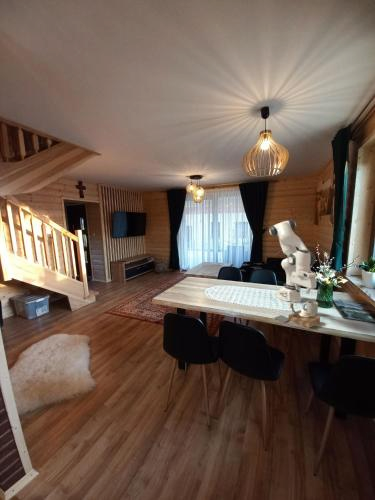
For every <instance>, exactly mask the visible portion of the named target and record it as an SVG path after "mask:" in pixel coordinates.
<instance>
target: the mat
mask: <svg viewBox="0 0 375 500" xmlns="http://www.w3.org/2000/svg"><path fill="white" fill-rule="evenodd" d="M273 318H274V319H275V320H277V321H280V322H282V323H284V324H285V323H287V322H289V321H290V320H289V319H288V318H289V317H287V316H285V315H278V316H275V317H273ZM290 322H291V321H290Z"/></svg>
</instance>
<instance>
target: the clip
mask: <svg viewBox="0 0 375 500" xmlns="http://www.w3.org/2000/svg"><path fill="white" fill-rule="evenodd" d="M289 307H290V309H291V311H292V313H293V315H297V313H296V312H297V311H296V310H295V307H294V302H290V306H289Z"/></svg>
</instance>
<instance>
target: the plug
mask: <svg viewBox="0 0 375 500" xmlns="http://www.w3.org/2000/svg"><path fill="white" fill-rule="evenodd" d="M300 310H301V313H299V315H300V316H301V317H304V318H309V317H310V315H309V314H308V310H307V309H306V307H305V308H301V309H300Z"/></svg>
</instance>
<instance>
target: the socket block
mask: <svg viewBox="0 0 375 500" xmlns="http://www.w3.org/2000/svg"><path fill="white" fill-rule="evenodd" d="M295 312H296V313H297V315H293V312H292V313H290V314H288V317H287V318H288V319H289V320H290V322H293V323H294V324H297V325H298V326H299V325H300V326H302V327H305V328H307V329H310V328H312V327H315V326H317V325H318V324H320V323H321V317H320V316H318V315H312V314H309V313H308V314H309V315H310V317H309V318H304V317H301V316H300V315H299V313H301V309H300V310H297V311H295Z"/></svg>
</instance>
